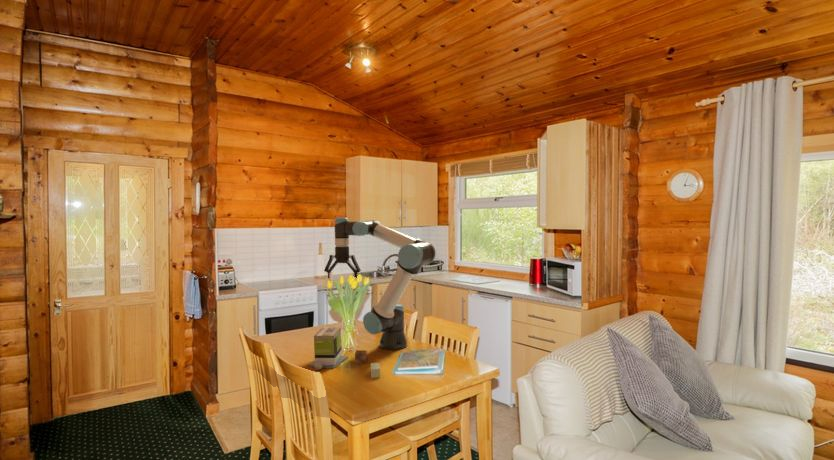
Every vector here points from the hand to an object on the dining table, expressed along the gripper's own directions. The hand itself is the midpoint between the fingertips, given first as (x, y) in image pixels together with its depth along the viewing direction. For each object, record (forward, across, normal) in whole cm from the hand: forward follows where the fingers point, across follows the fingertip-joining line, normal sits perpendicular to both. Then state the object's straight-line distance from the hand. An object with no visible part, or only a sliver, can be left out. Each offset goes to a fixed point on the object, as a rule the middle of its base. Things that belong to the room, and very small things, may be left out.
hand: (342, 284), depth 253 cm
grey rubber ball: (+31, -2, +38) cm, 49 cm away
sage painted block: (+34, -30, +39) cm, 60 cm away
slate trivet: (+34, -3, +28) cm, 44 cm away
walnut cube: (+34, -18, +24) cm, 45 cm away
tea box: (+33, -3, +28) cm, 43 cm away
